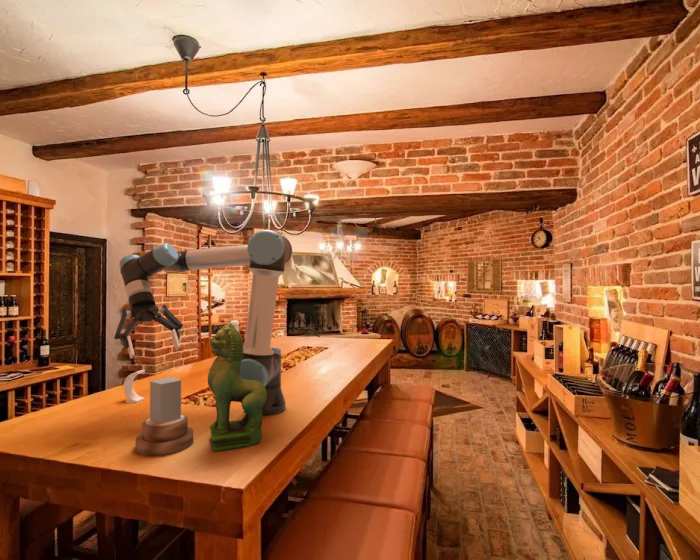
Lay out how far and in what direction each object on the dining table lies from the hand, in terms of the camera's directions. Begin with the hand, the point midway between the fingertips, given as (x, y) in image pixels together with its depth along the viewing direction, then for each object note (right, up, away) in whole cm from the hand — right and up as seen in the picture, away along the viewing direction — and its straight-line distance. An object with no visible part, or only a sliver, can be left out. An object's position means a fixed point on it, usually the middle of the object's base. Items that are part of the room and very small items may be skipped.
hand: (156, 352), depth 125 cm
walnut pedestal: (+8, -25, -11) cm, 28 cm away
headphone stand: (-25, -26, +32) cm, 48 cm away
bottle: (+8, -26, +56) cm, 62 cm away
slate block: (+8, -17, -11) cm, 22 cm away
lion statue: (+28, -25, -9) cm, 39 cm away
